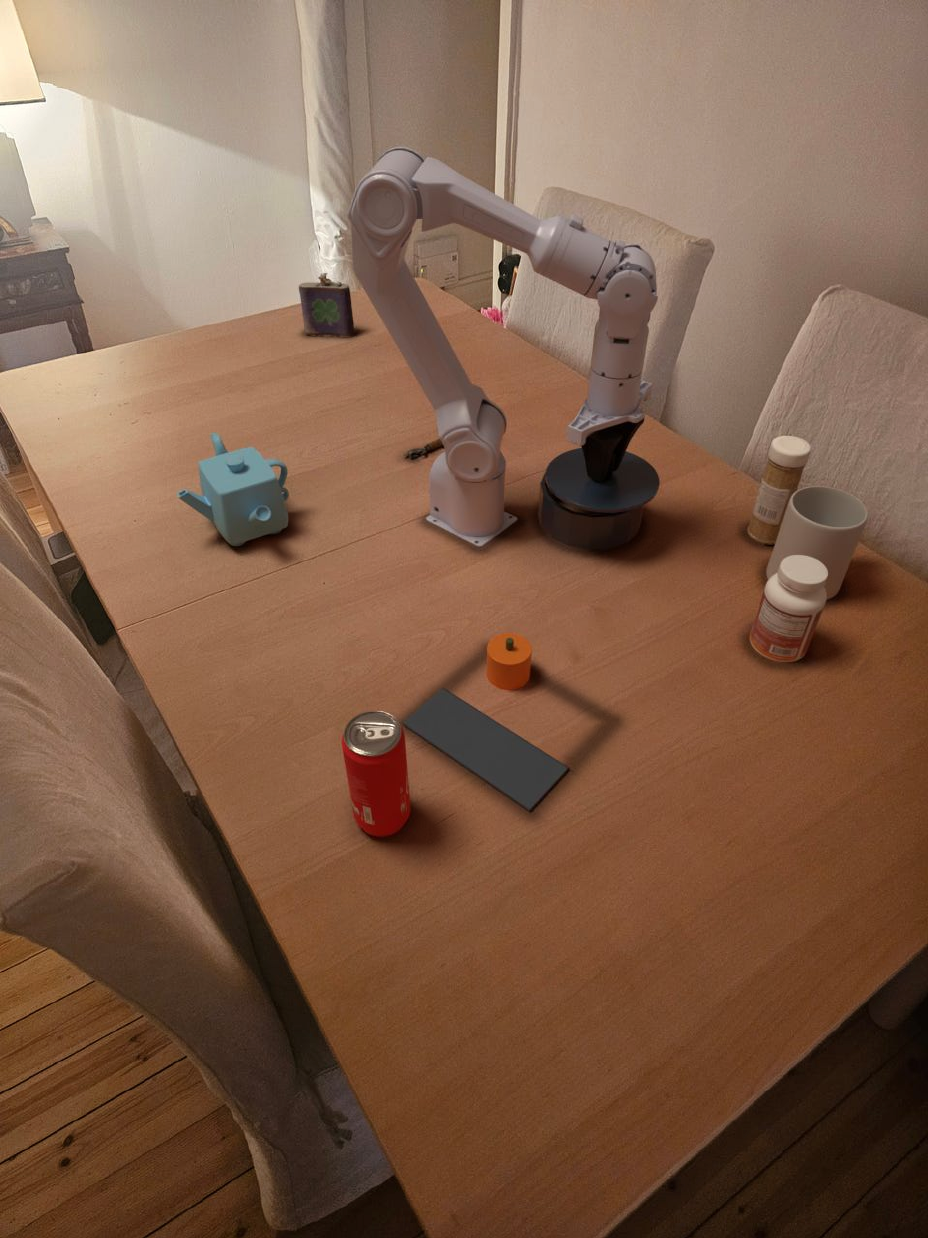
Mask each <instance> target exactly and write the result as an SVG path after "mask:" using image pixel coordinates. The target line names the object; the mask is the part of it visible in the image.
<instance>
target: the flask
mask: <svg viewBox="0 0 928 1238" xmlns="http://www.w3.org/2000/svg"><path fill="white" fill-rule="evenodd" d="M327 275H328V273H327V272H323V273H320V275H319V276H317V279H318V280H319V281H320V282H317V281H316V282H302V283H300V284H298V292H299V298H300V304H301V314H302V320H303V330H304V333H305V335H307V336H311V337H317V336H318V337H325V338H326V337H334V338H335V337H340V338H352V337H354V335H355V323H354V316H353V307H352V297H351V289H350V286H349V285H348V284H347V283H342V281H337V282H336V281H332V279H330V278H328V277H327Z"/></svg>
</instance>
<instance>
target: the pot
mask: <svg viewBox="0 0 928 1238" xmlns="http://www.w3.org/2000/svg"><path fill="white" fill-rule="evenodd" d="M545 476H546V471H545V472H544V473H543V476H542V478H541V480H540V483H539V494H538V509H537V518H538V522H539V525H540V528H541V529H543V530H544V531H545V533H546V534H547V535H548V536H549V537H550V538H552V539H554V540H556V541H558V542H560V543H561V544H563V545H566V546H568V547H572V548H573V547H574V548H579V549H584V550H589V551H591V550H592V551H593V550H606V549H608V550H610V549H612V548H616V547H618V546H621V545H624V544H626V543H628V542H630V540H632V539H633V538H634V537H635V536H636V535H637V534H638V533H639V530H640V526H641V523H642V517H643V512H644V506H645V505H643V506H641V507H639V508H636V509H633V510H629V511H624V512H615V513H599V514H598V513H597V514H591V513H586V512H580V511H574V510H572V509H570V508H568V507H566V506H563V505H561V504H560V503H558V502H557V501H556V499H557V498H558V497H556V496H555V495H554V494H553V493H552V492H551V491H550V489H549V487H548V486H547V483H546V479H545Z"/></svg>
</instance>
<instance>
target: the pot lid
mask: <svg viewBox="0 0 928 1238" xmlns="http://www.w3.org/2000/svg"><path fill="white" fill-rule="evenodd" d="M615 455H616V451H615V450H614V451H613V454H612V457H611V460H610V464H609V468H608V472H607V474H606V477H605V479H604V480H603V481H602V482H600V481H597V480H595V479H593V478H590V477H588V476H587V470H586V464H585V459H584V454H583V450H582V447H578V448H574V449H570V450H567V451H564V452H563V453H559V454H558V455H557V456H555V457H554V458H553V459H551V461H550V462H548V465H547V467H546V470H545V472H546V476H545V479H546V483H547V486H548V487H549V489H550V491H551V492H552V493H553V494H554V495H555V496H556V497H557V498H558V499H559V500H561V501H562V502H564V503H566V504H568V505H570V506H572V507H574V508H577V509H580V510H585V511H589V512H594V513H595V512H596V513H603V514H613V513H616V512H624V511H629V510H633V509H636V508H639V507H641V506H643V505H644V506H645V505H647V504H648V503H650V502H651V501H652V500H653V499H654V498H655V497H656V495H657V494H658V492H659V489H660V484H661V483H660V482H661V481H660V476H659V473H658V472H657V470H656V468H654V466H653V465H652V464H651V463H650V462H649V461H647V460H646V459H644V458H642V457H641V456H640V455H639V456H638V455H637V454H634V453H633V452H629V451H627V450H626V452H625V454H624V456H623V459H622V461H621V464H620V466H619V468H618V469H617V470H616V471H613V469H614V462H615Z"/></svg>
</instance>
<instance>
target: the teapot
mask: <svg viewBox="0 0 928 1238" xmlns="http://www.w3.org/2000/svg"><path fill="white" fill-rule="evenodd" d="M210 439H211V441H212V444H213V448H214V449H213V450H214V456H211V457H208V458H205V459H201V460H200V461H198V473H199V475H198V476H199V482H200V489H201V495H200V494H198V493H195V492H193V491H191V490H188V489H187V488H184V489H181V490H180V491H178V492H177V493H176V494H175V495H176V496H177V497H178V498H179V500H181V501H182V502H183V503H185V504H187V505H188V506H189V507H191V508H192V509H193V510H194V511H196V512H198V513H199V514H201V515H202V516H204V517H205V518H206V519H208V520H209V521H210V522H212V524H213V525H214V527H215V529H217V531H218V532H219V534H220V535H221V536H222V538H224V540H225V541H226V542H227V543H228V544H229V545H231V546H233V547H240V546H242V545H244V544H245V543H246V542H248V541H251V540H254V539H258V538H261V537H263V536H266V535H276V534H279V533H281V532H282V530H283V529H285V528H287V527H288V526H289V525H288V524H289V513H288V509H287V504H286V501H287V500H288V499H289V497H290V492H289V490H288V488H287V487H284V486H285V483H286V481H287V478H288V467H287V465H286V464H285V462H283V460H282V461H281V460H280V459H277V458H269V459H266V458H264V456H263V455H262V454H261V452H259V451H258V450H257V449H256V448H255V447H253V446H247V447H244V448H239V449H236V450H232V451H229V452H228V450H227V448H226V446H225V443H224V442H223V440H222V437H221V436H220V434H218V432H211V433H210ZM272 467H279V468H280V473H279V477H277V474H276V473H275V471H274V470H273V468H272Z"/></svg>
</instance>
